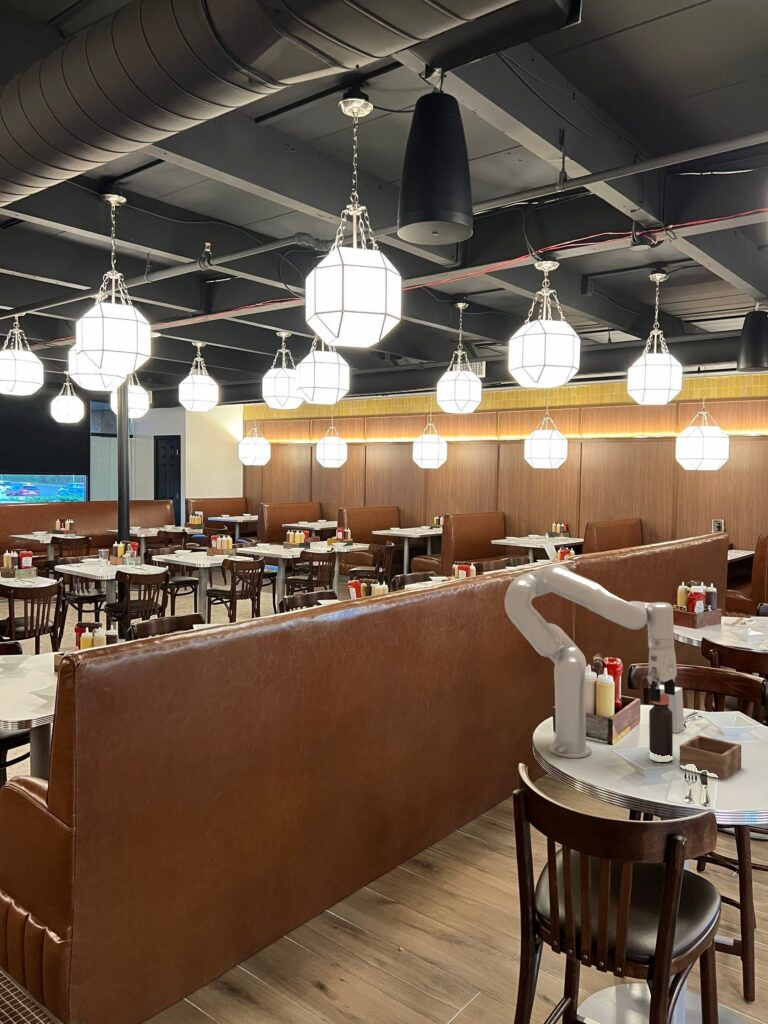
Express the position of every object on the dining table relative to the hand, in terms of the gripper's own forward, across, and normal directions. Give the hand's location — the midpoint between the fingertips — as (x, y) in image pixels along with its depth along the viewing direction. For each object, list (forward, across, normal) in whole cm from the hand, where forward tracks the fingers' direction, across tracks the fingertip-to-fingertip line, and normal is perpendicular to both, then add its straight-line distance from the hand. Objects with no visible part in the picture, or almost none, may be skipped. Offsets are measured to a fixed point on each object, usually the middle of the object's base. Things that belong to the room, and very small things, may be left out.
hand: (662, 697), depth 232 cm
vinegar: (+20, 0, +1) cm, 20 cm away
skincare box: (+20, +28, +12) cm, 37 cm away
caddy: (+20, +2, -13) cm, 24 cm away
